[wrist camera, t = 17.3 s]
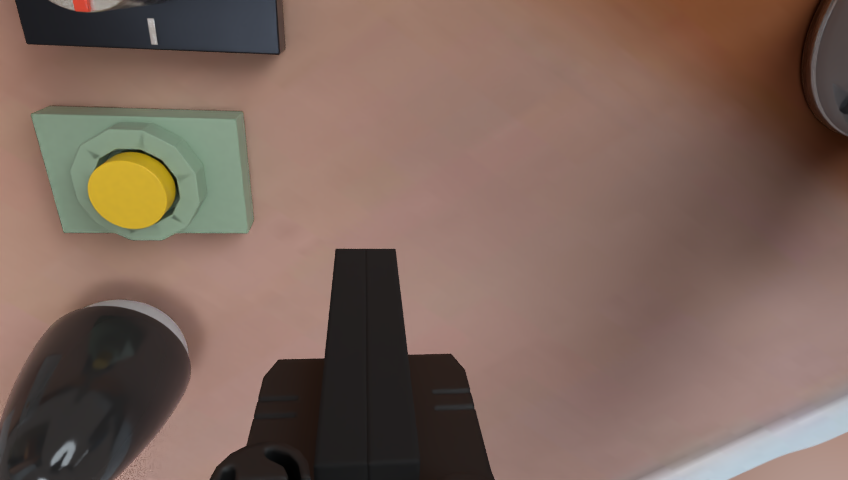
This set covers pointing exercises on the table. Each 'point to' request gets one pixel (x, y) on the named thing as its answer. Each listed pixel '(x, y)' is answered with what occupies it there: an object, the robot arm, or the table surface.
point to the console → (161, 26)
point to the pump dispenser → (93, 393)
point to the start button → (131, 190)
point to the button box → (164, 141)
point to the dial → (103, 4)
